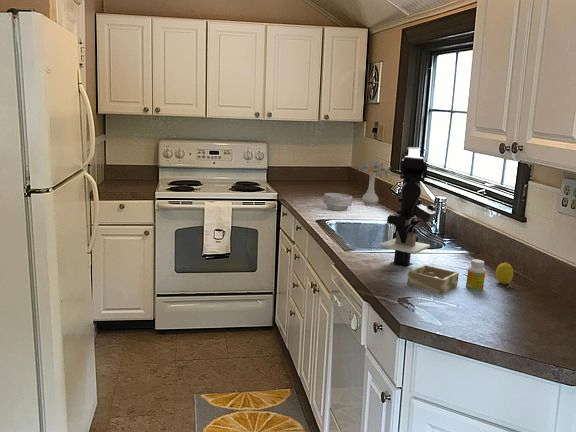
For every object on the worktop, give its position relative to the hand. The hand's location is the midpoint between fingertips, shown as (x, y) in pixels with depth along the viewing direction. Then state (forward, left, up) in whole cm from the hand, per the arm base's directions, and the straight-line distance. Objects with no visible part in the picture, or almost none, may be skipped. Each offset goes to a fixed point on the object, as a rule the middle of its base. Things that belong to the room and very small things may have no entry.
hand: (405, 242), depth 195 cm
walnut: (-3, +9, -12) cm, 15 cm away
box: (-1, +11, -13) cm, 17 cm away
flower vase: (-119, -79, -13) cm, 143 cm away
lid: (0, 0, -1) cm, 1 cm away
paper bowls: (-90, -83, -13) cm, 123 cm away
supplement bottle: (-9, +22, -13) cm, 27 cm away
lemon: (-22, +27, -13) cm, 37 cm away
